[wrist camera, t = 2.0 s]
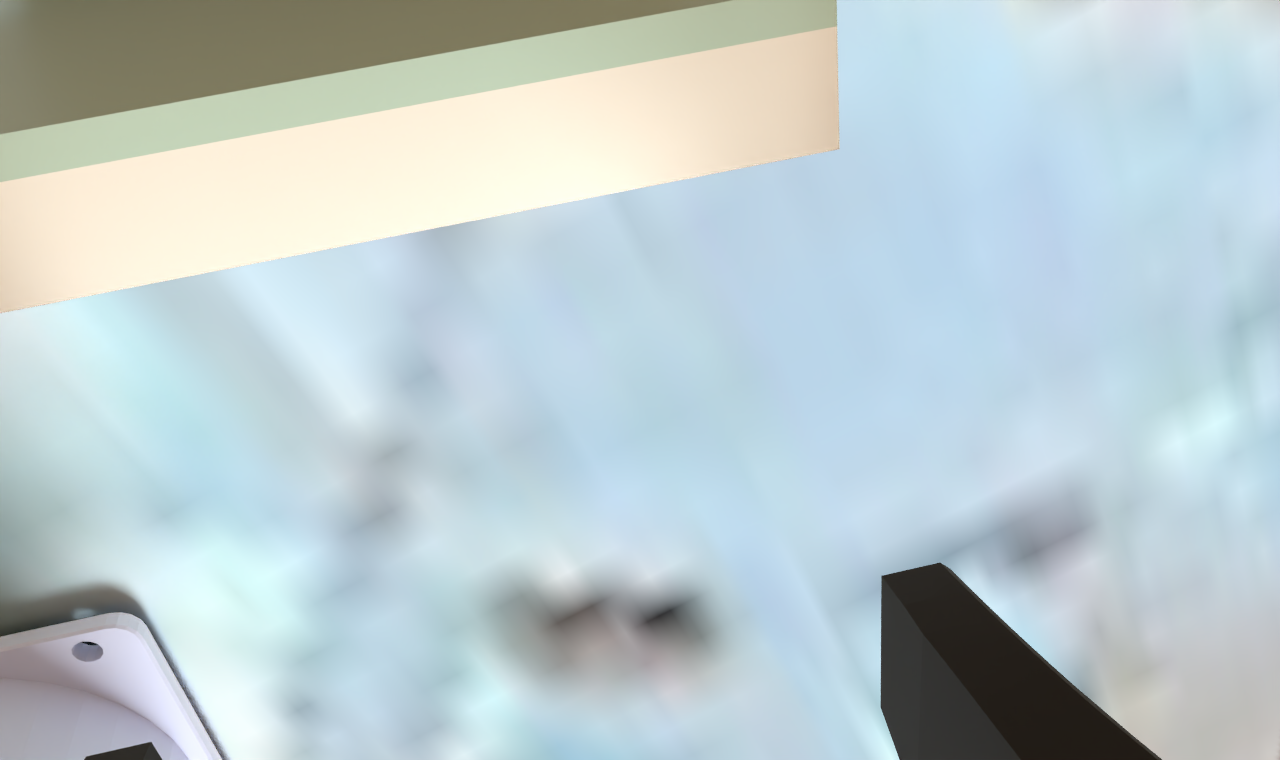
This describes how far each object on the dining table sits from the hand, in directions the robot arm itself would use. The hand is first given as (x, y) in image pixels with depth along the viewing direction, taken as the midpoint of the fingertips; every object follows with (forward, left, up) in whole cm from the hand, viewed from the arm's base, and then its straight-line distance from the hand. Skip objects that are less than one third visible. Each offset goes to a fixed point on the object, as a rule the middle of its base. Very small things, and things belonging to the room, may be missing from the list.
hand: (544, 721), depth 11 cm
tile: (-1, +5, -9) cm, 10 cm away
